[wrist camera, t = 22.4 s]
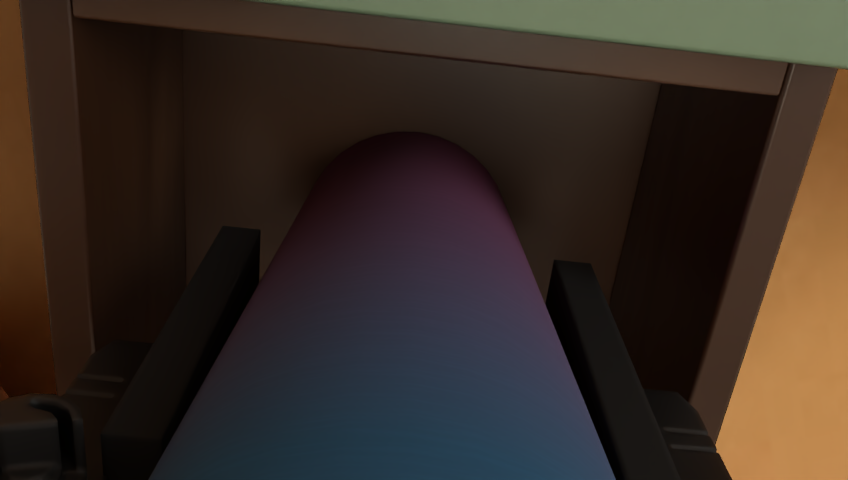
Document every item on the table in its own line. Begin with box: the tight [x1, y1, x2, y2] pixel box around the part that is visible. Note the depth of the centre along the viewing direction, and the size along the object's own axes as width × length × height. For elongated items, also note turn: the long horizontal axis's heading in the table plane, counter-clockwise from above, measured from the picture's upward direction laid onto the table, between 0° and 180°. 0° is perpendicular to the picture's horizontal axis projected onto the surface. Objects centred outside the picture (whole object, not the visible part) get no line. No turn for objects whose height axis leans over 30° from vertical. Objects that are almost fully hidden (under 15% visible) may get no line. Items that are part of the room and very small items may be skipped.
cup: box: [148, 132, 616, 480], centre depth 13 cm, size 7×7×15 cm
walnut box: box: [19, 0, 838, 445], centre depth 18 cm, size 13×13×7 cm
